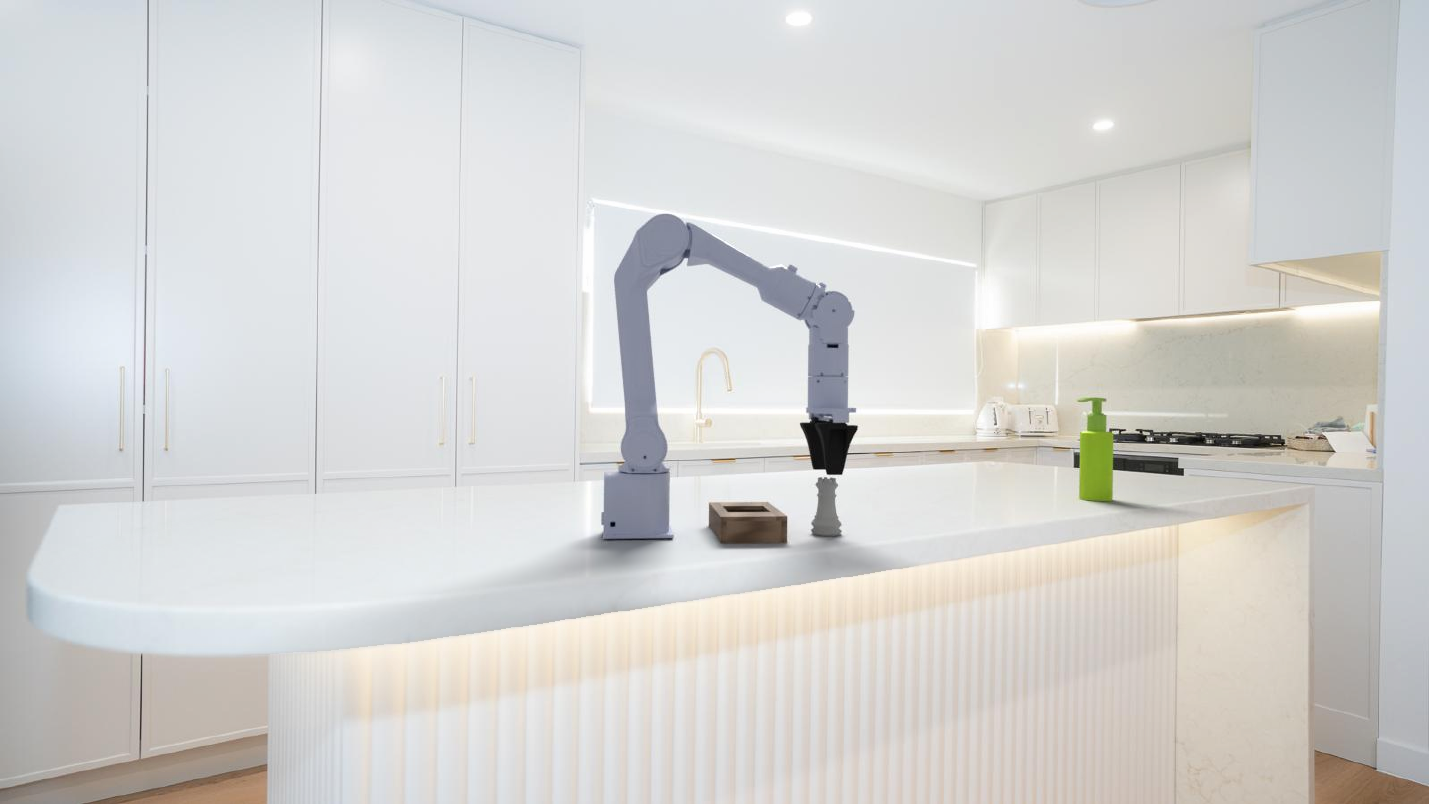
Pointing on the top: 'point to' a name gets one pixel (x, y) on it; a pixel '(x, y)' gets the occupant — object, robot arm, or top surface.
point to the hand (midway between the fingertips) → (827, 472)
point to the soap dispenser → (1096, 456)
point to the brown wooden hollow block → (747, 522)
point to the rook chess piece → (826, 509)
